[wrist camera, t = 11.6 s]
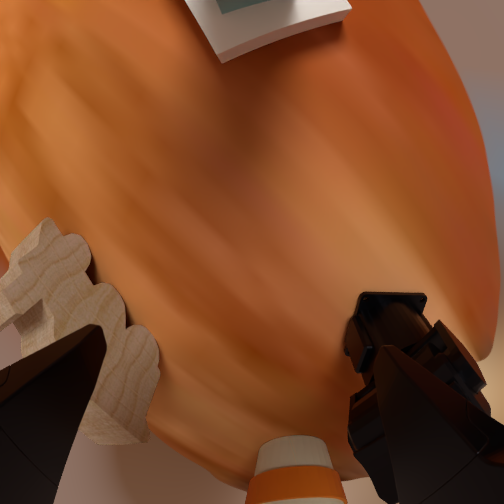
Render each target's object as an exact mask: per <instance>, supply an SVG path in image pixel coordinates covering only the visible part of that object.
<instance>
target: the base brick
mask: <svg viewBox="0 0 504 504" xmlns="http://www.w3.org/2000/svg"><path fill="white" fill-rule="evenodd" d="M185 2H186V3H187V5H188V7H189V8H190V10H191V12H192V13H193V15H194V17H195V18H196V20H197V22H198V23H199V25H200V27H201V29H202V30H203V32H204V34H205V36H206V37H207V39H208V41H209V43H210V44H211V46H212V48H213V50H214V51H215V53H216V55H217V57H218V58H219V60H220V61H221V63H222V64H223V63H225V62H227V61H229V60H231V59H233V58H236V57H238V56H240V55H243V54H245V53H247V52H250V51H252V50H254V49H257V48H259V47H262V46H264V45H267V44H270V43H272V42H275V41H278V40H280V39H283V38H286V37H289V36H292V35H295V34H298V33H301V32H304V31H307V30H311V29H314V28H317V27H321V26H324V25H328V24H332V23H335V22H339V21H343V19H344V18H345V17H346V16H347V14H348V13H349V12H350V10H351V9H352V7H351V6H350V4H349V3H348V1H347V0H270V1H266V2H262V3H258V4H254V5H251V6H247V7H244V8H240V9H237V10H234V11H231V12H228V13H225V14H222V13H221V11H220V9H219V6H218V4H217V2H216V0H185Z"/></svg>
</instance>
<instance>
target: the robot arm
mask: <svg viewBox="0 0 504 504" xmlns="http://www.w3.org/2000/svg"><path fill="white" fill-rule="evenodd" d="M365 297H367V299H366V300H363V299H364V298H365ZM422 298H423V299H422ZM421 299H422V300H421ZM426 302H427V296H426V295H425V294H424V293H399V292H363V293H361V294H360V296H359V299H358V303H357V307H356V311H355V314H354V315H353V316H352V317H351V320H350V324H349V327H348V331H347V334H346V338H345V343H346V345H345V349H344V352H345V355H346V356H350V357H351V360H352V364H353V367H354V370H355V372H356V373H361V374H362V377H363V380H364V383H365V386H366V387H365V388H363V389H362V390H361V391H359V392H358V393H355V394H353V395H352V396H351V397H350V408H349V421H348V427H347V429H348V442H349V444H350V446H351V448H352V450H353V452H354V453H353V455H354V457H355V458H356V459H357V460H358V461H359V462H360V463H361V464H362V466H363V467H364V468H365V470H366V471H367V473H368V474H369V476H370V478H371V480H372V482H373V485H374V487H375V489H376V492H377V494H378V496H379V497H380V498H381V499H382V500H384V501H385V502H386V503H388V504H396V503H399V504H504V425H503V424H501V423H499V422H498V421H496V420H495V419H493V418H492V417H491V408H490V405H489V403H488V402H487V400H486V399H485V397H484V395H483V394H482V392H481V391H480V390H481V389H482V388H484V387H485V386H486V385H487V384H486V381H485V379H484V377H483V375H482V372H481V370H480V368H479V366H478V364H477V363H476V361H475V360H474V359H473V357H472V356H471V355H470V353H469V352H468V351H467V349H466V348H465V347H464V345H463V344H462V343H461V342H460V341H459V340H458V339H457V338H456V337H455V335H454V334H453V333H452V332H451V331H450V330H449V329H448V328H447V327H446V326H445V325H444V324H443V323H442V322H441V321H440V320H438V321H437V322H436V323H435V324H434V327H432V326H431V325H430V323H429V322H428V320H427V319H426V318H425V316H424V315H423V314H422V313H423V310H424V307H425V304H426ZM106 352H107V343H106V339H105V336H104V332H103V329H102V327H101V326H100V325H96V324H88V325H86V326H84V327H82V328H80V329H78V330H76V331H74V332H72V333H71V334H69V335H67V336H65V337H63V338H61V339H59V340H57V341H55V342H53V343H51V344H49V345H48V346H46V347H44V348H42V349H40V350H38V351H36V352H34V353H32V354H30V355H28V356H27V357H25V358H23V359H21V360H19V361H18V362H16V363H14V364H12V365H11V366H10V365H9V366H8V367H6V368H4V369H2V370H0V504H53V503H54V499H55V496H56V493H57V489H58V486H59V482H60V479H61V476H62V473H63V470H64V467H65V464H66V461H67V458H68V455H69V453H70V450H71V447H72V444H73V442H74V439H75V436H76V433H77V431H78V428H79V426H80V423H81V421H82V418H83V416H84V413H85V411H86V408H87V406H88V403H89V401H90V399H91V396H92V394H93V391H94V389H95V386H96V383H97V380H98V377H99V374H100V370H101V367H102V364H103V361H104V358H105V355H106Z"/></svg>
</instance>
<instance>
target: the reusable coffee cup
mask: <svg viewBox="0 0 504 504" xmlns="http://www.w3.org/2000/svg"><path fill="white" fill-rule="evenodd" d="M245 504H347V499H346V496H345V493H344V490H343V487H342V483H341V480H340V477H339V474H338V472H337V471H335V470H334V469H333V466H332V463H331V460H330V456H329V453H328V450H327V447H326V444H325V442H324V441H323V440H321V439H319V438H316V437H312V436H305V435H293V436H285V437H280V438H276V439H273V440H271V441H268V442H267V443H265V444H263V445H262V446H261V447H260V449H259V453H258V459H257V464H256V469H255V474H254V477H253V478H252V479H251V480H250V482H249V487H248V492H247V497H246V501H245Z"/></svg>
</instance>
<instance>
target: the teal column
mask: <svg viewBox="0 0 504 504" xmlns="http://www.w3.org/2000/svg"><path fill="white" fill-rule="evenodd" d="M266 1H270V0H216V2H217V4H218V6H219V9H220V11H221V13H222V14H225V13H228V12H231V11H234V10H237V9H240V8H244V7H247V6H251V5H254V4H258V3H262V2H266Z"/></svg>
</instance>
